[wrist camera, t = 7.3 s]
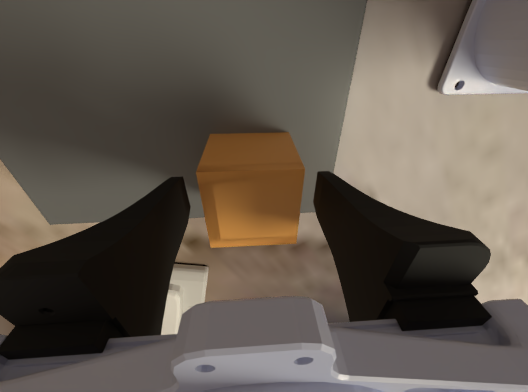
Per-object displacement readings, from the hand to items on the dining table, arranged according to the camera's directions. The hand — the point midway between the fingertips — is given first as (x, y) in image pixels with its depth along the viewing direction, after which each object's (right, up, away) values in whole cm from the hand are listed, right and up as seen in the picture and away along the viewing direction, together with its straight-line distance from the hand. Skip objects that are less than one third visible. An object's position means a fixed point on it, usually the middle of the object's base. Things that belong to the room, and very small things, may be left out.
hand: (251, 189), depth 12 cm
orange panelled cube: (0, +1, +2) cm, 3 cm away
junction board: (-5, +5, 0) cm, 7 cm away
